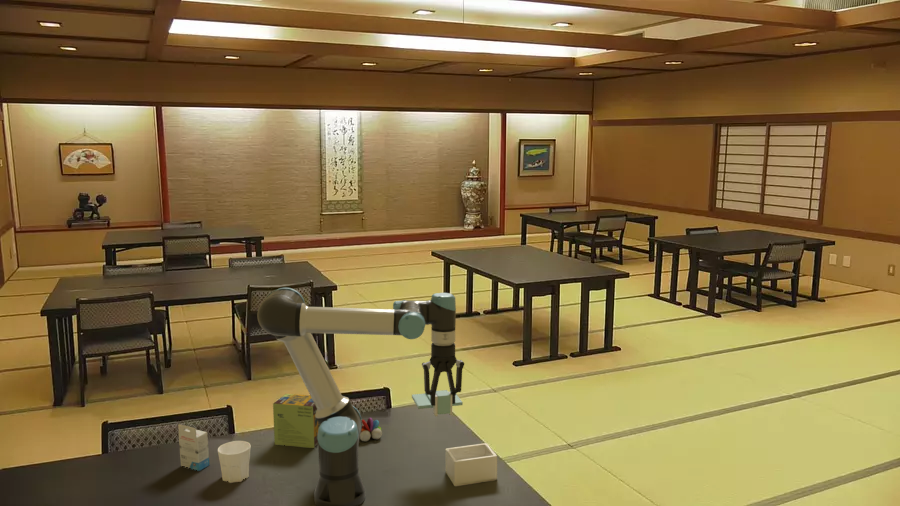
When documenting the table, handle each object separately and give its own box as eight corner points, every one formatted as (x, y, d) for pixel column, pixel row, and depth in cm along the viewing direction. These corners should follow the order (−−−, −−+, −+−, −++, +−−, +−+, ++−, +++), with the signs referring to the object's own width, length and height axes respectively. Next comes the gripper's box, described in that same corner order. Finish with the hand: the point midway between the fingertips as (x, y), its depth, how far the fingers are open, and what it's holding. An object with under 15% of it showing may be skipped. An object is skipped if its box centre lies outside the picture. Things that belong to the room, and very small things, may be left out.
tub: (454, 486, 212) (454, 461, 211) (445, 471, 222) (445, 448, 221) (497, 479, 216) (497, 455, 215) (486, 466, 226) (486, 443, 225)
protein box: (314, 448, 240) (313, 406, 238) (274, 445, 243) (272, 403, 241) (326, 436, 250) (324, 395, 248) (286, 433, 253) (285, 393, 251)
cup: (218, 486, 213) (216, 456, 212) (220, 471, 223) (218, 442, 222) (252, 481, 216) (250, 452, 215) (252, 467, 226) (250, 439, 224)
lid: (421, 416, 214) (421, 397, 213) (411, 399, 229) (411, 381, 228) (466, 412, 218) (466, 393, 217) (454, 396, 232) (454, 378, 231)
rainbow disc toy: (352, 435, 251) (351, 416, 250) (377, 430, 255) (377, 412, 254) (359, 444, 243) (358, 424, 242) (385, 439, 247) (384, 420, 246)
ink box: (210, 465, 227) (207, 423, 225) (198, 471, 223) (195, 428, 221) (191, 460, 231) (189, 418, 229) (180, 466, 227) (177, 423, 225)
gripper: (419, 347, 208) (418, 421, 212) (472, 344, 213) (471, 416, 216) (414, 341, 216) (413, 412, 219) (466, 337, 220) (465, 407, 223)
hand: (442, 413), depth 218 cm, fingers closed on lid, 4 cm apart
